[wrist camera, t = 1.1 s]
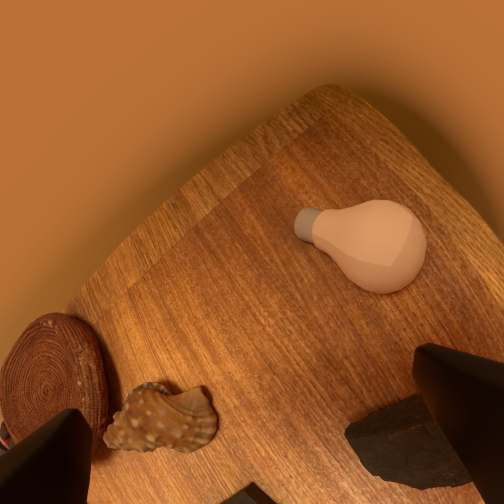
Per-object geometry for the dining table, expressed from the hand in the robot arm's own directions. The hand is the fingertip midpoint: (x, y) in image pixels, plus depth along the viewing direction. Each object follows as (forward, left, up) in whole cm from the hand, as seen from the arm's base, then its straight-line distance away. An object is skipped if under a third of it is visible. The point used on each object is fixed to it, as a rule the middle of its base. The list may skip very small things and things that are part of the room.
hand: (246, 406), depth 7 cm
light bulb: (+3, -8, -19) cm, 20 cm away
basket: (+24, +24, -10) cm, 36 cm away
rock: (-10, +3, -19) cm, 21 cm away
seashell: (+10, +16, -18) cm, 26 cm away
